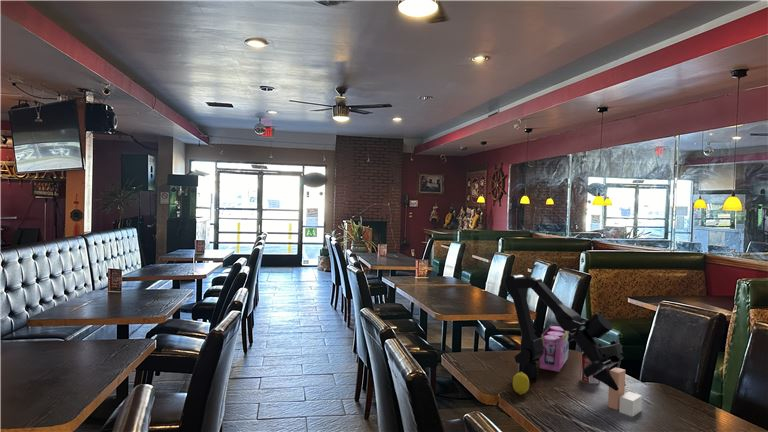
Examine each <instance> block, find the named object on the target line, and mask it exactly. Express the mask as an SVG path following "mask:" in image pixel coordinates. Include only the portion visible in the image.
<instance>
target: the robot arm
mask: <svg viewBox="0 0 768 432" xmlns="http://www.w3.org/2000/svg"><path fill="white" fill-rule="evenodd" d="M504 286H505V288H506V291H507V294H508V295H509V296H510V297H511V299H512V301H513V305H514V308H515V314H516V318H517V321H518V325H519V330H520V335H521V339H520V344H519V346H520V347H519V348H520V351H519V353H517V354H516V355H515V356H514V362H515V363H516V364H517V373H520V372H523V373H524V374H526V375H527V377H528V379H529V382H537V381H538V380H537V379H538V371H539V370H538V369H539V368H538V366H537V362H540V357H542V355H543V354H544V350H543V349H545V348H544V346H543V341H542V337H540V338H538V336H537V335H536V333H535V329H534V325H533V321H532V317H531V313H530V312H531V311H530V309H529V305H528V300H527V293H528V292H527V291H528V289H531V290H533V292H534V293H535V294H536V295H537V296H538V297H539V298H540V299H541V300H542V302H543V303H544V304H545V305H546V306H547V307H548V308H549V310H550V311H551V312H552V313H553V315H554V316H555V320H556V322H557V325H560V327H561V328H562V329H563V330H565V331H569V334H568V342H569V343H570V342H572V341H574V342H575V343H576V344H577V346H578V348H579V349H580V350H581V351H582V352H583V354H582V353H581V354H582V355H583V357H584V356H586V357H587V358H588V359H589V361H590V362H591V364H590V365H588V366H587V367H585V368H584V369H583V374H584V375H585V377H586V378H588V377H590V376H592V374H595V375H594V376H593V377H592V378H595V379H597V380H599V381H600V383H603V384H604V385H606V386H607V387H608V388H609V387H611V388H612V389H614V390H615V391H617V390H619V388H618V386H617V385H616V383H615V381H614V380H613V378H612V377H611V375H610V373H609V370H611V369H613V368H615V367H617V368H620V367H621V366H620V365H621V362H622V360H623V359H624V356H623V355H622V354H623V353H624V352H623V345H622V344H621V342H619V341H618V340H617V339H616V340H611V341H609V344H608V345H604V344H603V343H602V342H599V343H598V341H597V340H596V339H598V340H599V339H601V338H602V337H603V336H606V334H609V332H611V331H612V330H613V329H614V327H613V324H612V323H611V322H610V320H609V319H607V318H606V317H605V316H603V315H602V314H600V312H596V313H595V314H593V315H592V316H591V317H590V318H589V319H587V318H585V317H582V316H581V315H580V314H579V313H578V312H576V310H574V309H573V308H570V307H568V306H567V305H566V304H564V303H563V302H562V301H561V300H560V299H559V298H558V296H557V295H556V294H555V293H554V292H553V291H552V290H551V289H550V288H549V287H548V286H547V285H546V283H544V281H543V279H542V278H541V277H532V276H524V275H523V274H521V273H520V274H519V273H517V274H511V275H507V276H506V277H505V279H504ZM582 328H583V329H582ZM574 330H575V331H574ZM571 331H574V332H571ZM625 387H626V383H625Z"/></svg>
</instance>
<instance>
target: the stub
mask: <svg viewBox="0 0 768 432" xmlns="http://www.w3.org/2000/svg"><path fill="white" fill-rule="evenodd" d="M609 373H610V375H611V377H612V378H613V380H614V381H615V383H616V385H617V386H618V388H619V390H617V391H615V390H614V389H612V388H611V387H609V386H608V394H607V395H608V396H607V397H608V398H607V400H608V401H607V407H608V408H610V409H613V410H616V411H619V407H620V396H622V395H624V394H625V393H626V392H625V391H626V389H625V387H626V386H625V384H626V369H623V368H620V367H619V368H617V367H615V368H613V369H611V370H609Z"/></svg>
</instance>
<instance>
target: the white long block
mask: <svg viewBox="0 0 768 432" xmlns="http://www.w3.org/2000/svg"><path fill="white" fill-rule="evenodd" d="M642 404H643V395H642V394H639V393H636V392H632V391H628V392H625V393H624V395H622V396H620V407H619V409H618V410H617V412H619V413H621V414H624V415H626V416H628V417H634V416H636V415H637V414H639V413H640V412H641V411H642V408H643V407H642Z"/></svg>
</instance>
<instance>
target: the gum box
mask: <svg viewBox="0 0 768 432" xmlns="http://www.w3.org/2000/svg"><path fill="white" fill-rule="evenodd" d="M569 333H570V331H565V330H563V329H562V328H561V327H560V325H559V324H553V323H552V324H550V325H549V326H548V328H546V330H545V331H544V332H542V334H541V338H542V341H543V346H544V348H545V349H543V350H544V354H543V355H542V357H540V359H539V368H538V369H543V370H547V371H553V372H557V373H560V371H561V369H562V368H563V367H564V364H565V363H566V362H567V360H568V359H569V348H570V346H569V345H570V342H568V334H569Z"/></svg>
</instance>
